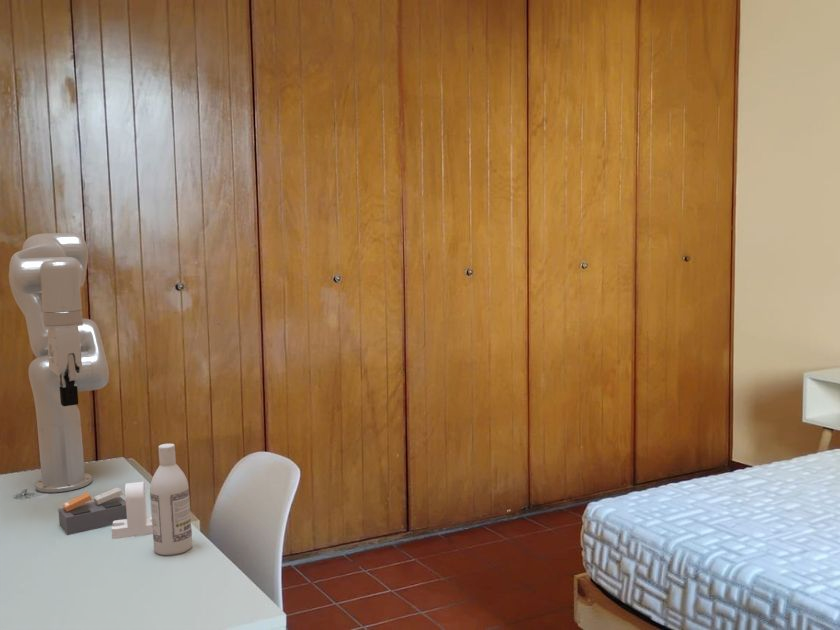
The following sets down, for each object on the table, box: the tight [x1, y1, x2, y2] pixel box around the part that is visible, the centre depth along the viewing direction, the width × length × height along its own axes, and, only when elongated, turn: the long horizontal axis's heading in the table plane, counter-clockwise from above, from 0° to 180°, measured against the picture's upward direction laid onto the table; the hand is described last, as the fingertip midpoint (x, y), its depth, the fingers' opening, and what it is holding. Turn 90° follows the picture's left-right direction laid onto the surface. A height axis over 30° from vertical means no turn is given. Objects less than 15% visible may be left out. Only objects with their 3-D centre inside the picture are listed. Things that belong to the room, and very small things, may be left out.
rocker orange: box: [61, 492, 93, 512], centre depth 173 cm, size 3×5×1 cm, turn 125°
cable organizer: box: [110, 481, 153, 540], centre depth 168 cm, size 5×10×10 cm, turn 106°
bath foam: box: [149, 443, 193, 556], centre depth 157 cm, size 7×7×20 cm
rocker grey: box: [93, 486, 124, 505], centre depth 176 cm, size 3×5×1 cm, turn 125°
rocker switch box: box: [57, 495, 127, 536], centre depth 175 cm, size 10×12×4 cm
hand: (69, 404), depth 178 cm, fingers closed
